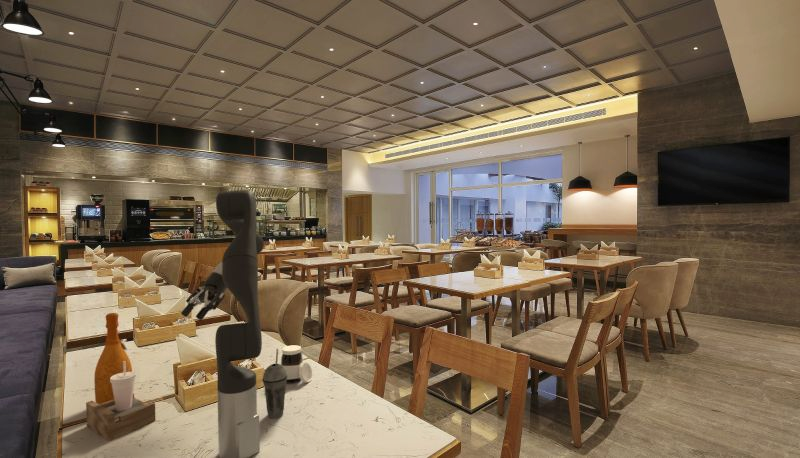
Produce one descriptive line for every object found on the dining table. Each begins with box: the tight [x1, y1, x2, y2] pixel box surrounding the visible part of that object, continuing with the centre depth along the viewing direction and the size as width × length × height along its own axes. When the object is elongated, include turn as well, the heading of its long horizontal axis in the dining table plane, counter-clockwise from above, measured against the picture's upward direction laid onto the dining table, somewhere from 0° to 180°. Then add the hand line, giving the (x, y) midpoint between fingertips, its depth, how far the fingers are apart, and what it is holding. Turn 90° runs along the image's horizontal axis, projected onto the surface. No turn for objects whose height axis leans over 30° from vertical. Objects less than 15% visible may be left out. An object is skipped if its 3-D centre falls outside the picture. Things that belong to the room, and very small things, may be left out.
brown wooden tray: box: [85, 392, 156, 441], centre depth 114 cm, size 14×12×7 cm
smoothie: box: [110, 361, 137, 411], centre depth 115 cm, size 6×6×14 cm
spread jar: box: [280, 344, 313, 384], centre depth 145 cm, size 12×11×12 cm
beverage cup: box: [262, 348, 287, 419], centre depth 119 cm, size 7×7×20 cm
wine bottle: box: [93, 312, 133, 404], centre depth 126 cm, size 10×10×30 cm
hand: (190, 317), depth 128 cm, fingers open, 8 cm apart
